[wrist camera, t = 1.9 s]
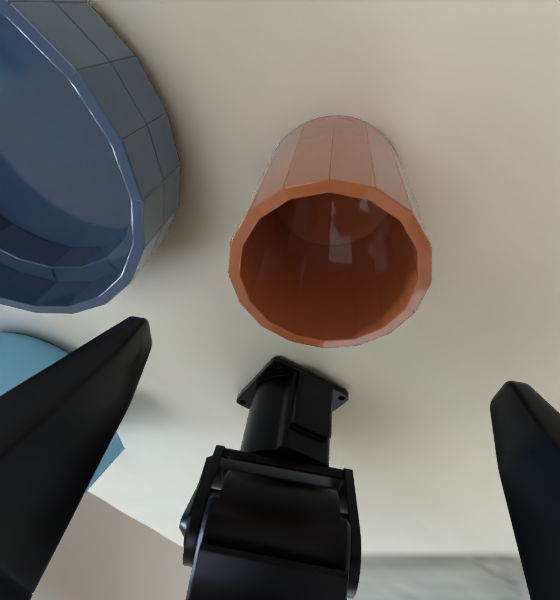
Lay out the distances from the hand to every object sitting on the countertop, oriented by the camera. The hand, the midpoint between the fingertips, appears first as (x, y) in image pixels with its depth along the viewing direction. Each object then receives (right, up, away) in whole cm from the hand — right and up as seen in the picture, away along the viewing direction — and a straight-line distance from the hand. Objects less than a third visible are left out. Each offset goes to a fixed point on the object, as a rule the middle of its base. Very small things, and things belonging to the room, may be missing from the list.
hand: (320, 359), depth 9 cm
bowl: (-13, +9, +9) cm, 18 cm away
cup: (+1, +7, +8) cm, 11 cm away
